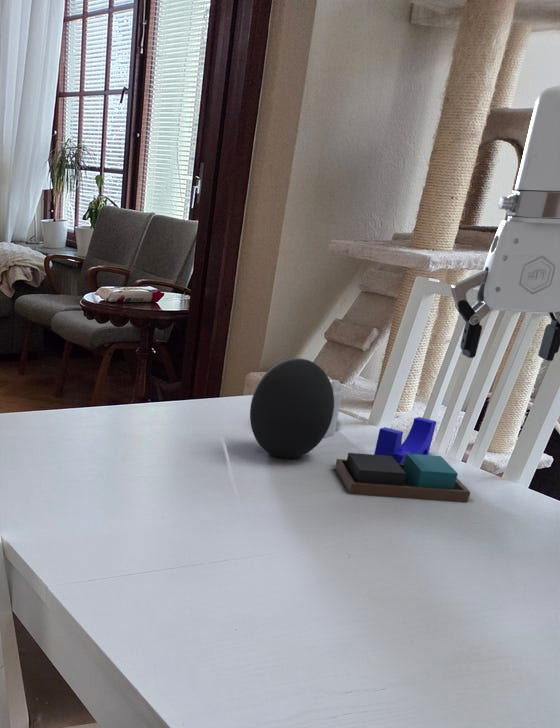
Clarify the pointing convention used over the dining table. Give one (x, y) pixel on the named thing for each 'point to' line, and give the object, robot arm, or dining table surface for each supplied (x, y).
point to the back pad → (375, 469)
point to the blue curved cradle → (406, 440)
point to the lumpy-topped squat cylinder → (335, 405)
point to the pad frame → (400, 488)
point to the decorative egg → (292, 408)
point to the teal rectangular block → (428, 472)
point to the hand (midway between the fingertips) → (506, 357)
